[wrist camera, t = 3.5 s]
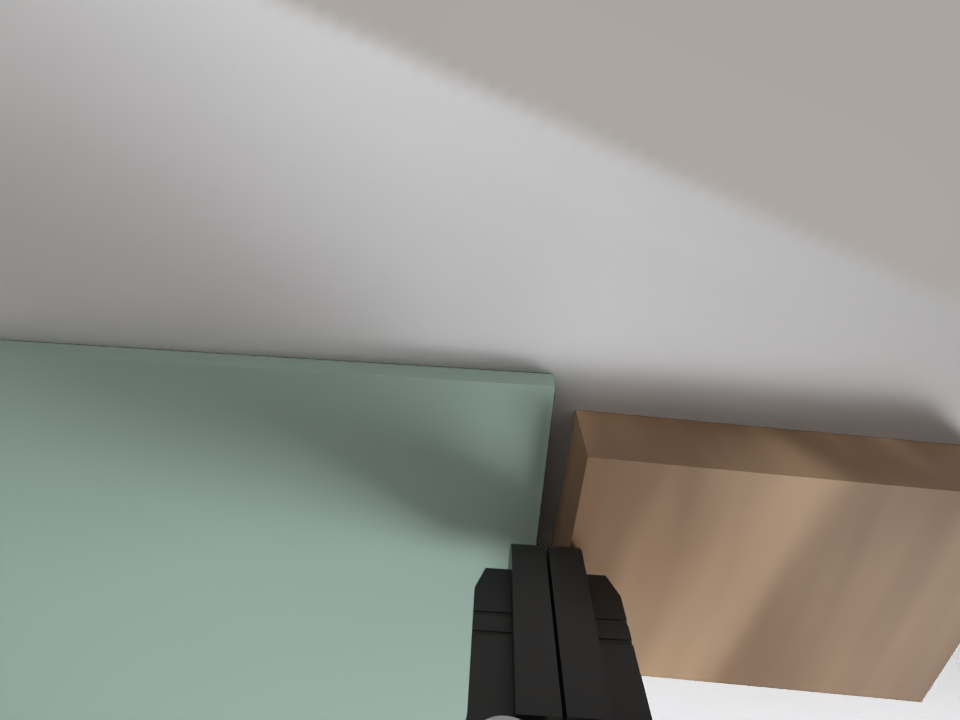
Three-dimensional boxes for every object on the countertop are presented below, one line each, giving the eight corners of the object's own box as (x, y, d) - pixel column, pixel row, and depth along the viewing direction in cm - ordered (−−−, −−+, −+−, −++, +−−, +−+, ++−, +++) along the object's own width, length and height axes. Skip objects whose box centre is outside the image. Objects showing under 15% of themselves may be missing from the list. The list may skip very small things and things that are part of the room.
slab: (572, 397, 12) (950, 431, 12) (539, 583, 15) (856, 613, 15) (587, 457, 10) (1052, 500, 10) (546, 666, 13) (921, 701, 13)
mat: (552, 373, 11) (555, 386, 11) (507, 758, 17) (507, 779, 17) (-209, 327, 12) (-244, 336, 11) (-3, 721, 17) (-20, 741, 17)
